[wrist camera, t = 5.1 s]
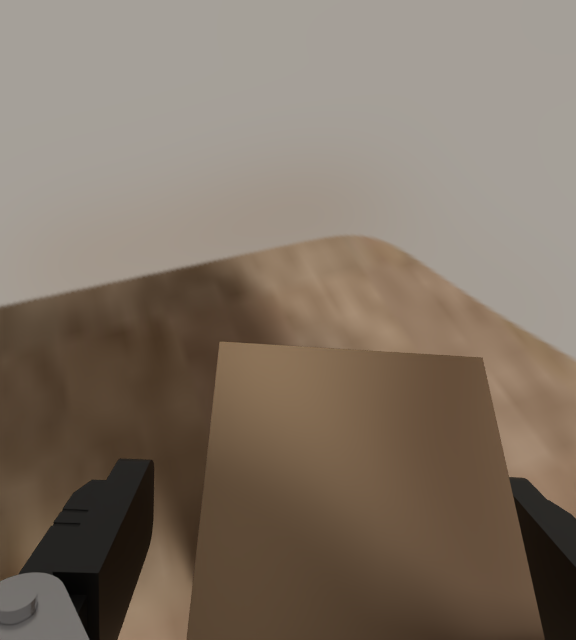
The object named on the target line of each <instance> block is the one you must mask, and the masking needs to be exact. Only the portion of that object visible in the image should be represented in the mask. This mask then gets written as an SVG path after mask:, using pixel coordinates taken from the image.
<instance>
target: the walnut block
mask: <svg viewBox="0 0 576 640" xmlns="http://www.w3.org/2000/svg"><path fill="white" fill-rule="evenodd" d="M187 640H545V638H544V633H543V629H542V624H541V620H540V615H539V611H538V606H537V602H536V597H535V593H534V588H533V584H532V579H531V574H530V570H529V565H528V561H527V556H526V552H525V547H524V543H523V538H522V534H521V529H520V525H519V520H518V516H517V511H516V507H515V502H514V498H513V493H512V489H511V484H510V480H509V475H508V471H507V466H506V462H505V457H504V453H503V448H502V444H501V439H500V435H499V430H498V426H497V421H496V417H495V412H494V408H493V403H492V399H491V394H490V390H489V385H488V380H487V376H486V371H485V367H484V362H483V358H480V357H464V356H448V355H431V354H415V353H399V352H383V351H366V350H350V349H334V348H318V347H301V346H285V345H269V344H253V343H236V342H219V351H218V360H217V370H216V379H215V388H214V397H213V406H212V415H211V424H210V433H209V442H208V451H207V460H206V469H205V478H204V487H203V496H202V505H201V514H200V523H199V532H198V541H197V550H196V559H195V568H194V577H193V586H192V595H191V604H190V613H189V623H188V632H187Z"/></svg>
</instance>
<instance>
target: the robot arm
mask: <svg viewBox="0 0 576 640" xmlns="http://www.w3.org/2000/svg"><path fill="white" fill-rule="evenodd" d="M509 480H510V484H511V489H512V493H513V498H514V502H515V507H516V511H517V516H518V520H519V525H520V529H521V534H522V538H523V543H524V547H525V552H526V556H527V561H528V565H529V570H530V574H531V579H532V584H533V588H534V593H535V597H536V602H537V606H538V611H539V615H540V620H541V624H542V629H543V633H544V638H545V640H576V519H575V518H574V517H573V516H572V515H571V514H570V513H568V512H567V511H565V510H564V509H562V508H560V507H559V506H557V505H556V504H554V503H553V502H551V501H549V500H547V499H546V498H545V497H544V496H543V495H542V494H541V493H540V492H539V491H538V490H537V489H536V488H535V487H534V486H533V485H532V484H531V483H530V482H529V481H528V480H527V479H525V478H516V477H509ZM153 507H154V463H153V460H143V459H119V460H118V461H117V463H116V465H115V466H114V468H113V470H112V471H111V473H110V475H109V476H108V478H107V480H91V481H90V482H88V483H87V484H85V485H84V486H83V487H81V488H80V489H78V490H77V491H75V492H74V493H73V494H72V496H71V497H70V499H69V500H68V502H67V503H66V505H65V506H64V508H63V511H62V512H60V514H59V515H58V517H57V518H56V520H55V521H54V524H53V526H51V527H50V528H49V530H48V531H47V533H46V534H45V536H44V537H43V539H42V540H41V542H40V543H39V545H38V546H37V548H36V549H35V551H34V552H33V553H32V555H31V556H30V558H29V559H28V561H27V562H26V564H25V565H24V567H23V568H22V570H21V571H20V573H19V574H18V575H15V576H12V577H9V578H7V579H4V580H2V581H0V640H117V639H118V636H119V633H120V630H121V627H122V624H123V622H124V619H125V616H126V613H127V610H128V607H129V604H130V601H131V598H132V595H133V592H134V590H135V587H136V584H137V581H138V578H139V575H140V572H141V569H142V566H143V563H144V561H145V558H146V555H147V552H148V549H149V545H150V541H151V536H152V529H153Z"/></svg>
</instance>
